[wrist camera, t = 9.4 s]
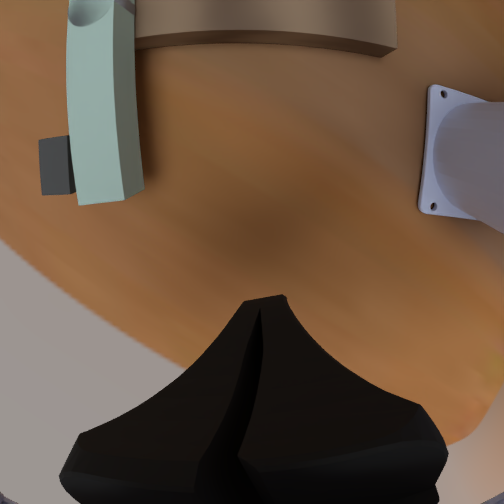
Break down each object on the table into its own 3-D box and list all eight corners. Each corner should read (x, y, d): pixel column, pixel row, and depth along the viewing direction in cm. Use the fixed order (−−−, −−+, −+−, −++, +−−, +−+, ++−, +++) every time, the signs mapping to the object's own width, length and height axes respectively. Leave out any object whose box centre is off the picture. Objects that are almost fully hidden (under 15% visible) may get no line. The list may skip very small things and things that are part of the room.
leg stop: (104, 132, 17) (67, 135, 13) (106, 179, 18) (70, 194, 14) (78, 135, 17) (38, 139, 13) (80, 180, 18) (42, 195, 14)
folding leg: (93, 4, 11) (69, -9, 9) (135, -10, 11) (116, -27, 9) (102, 194, 15) (78, 205, 13) (145, 189, 15) (125, 199, 13)
